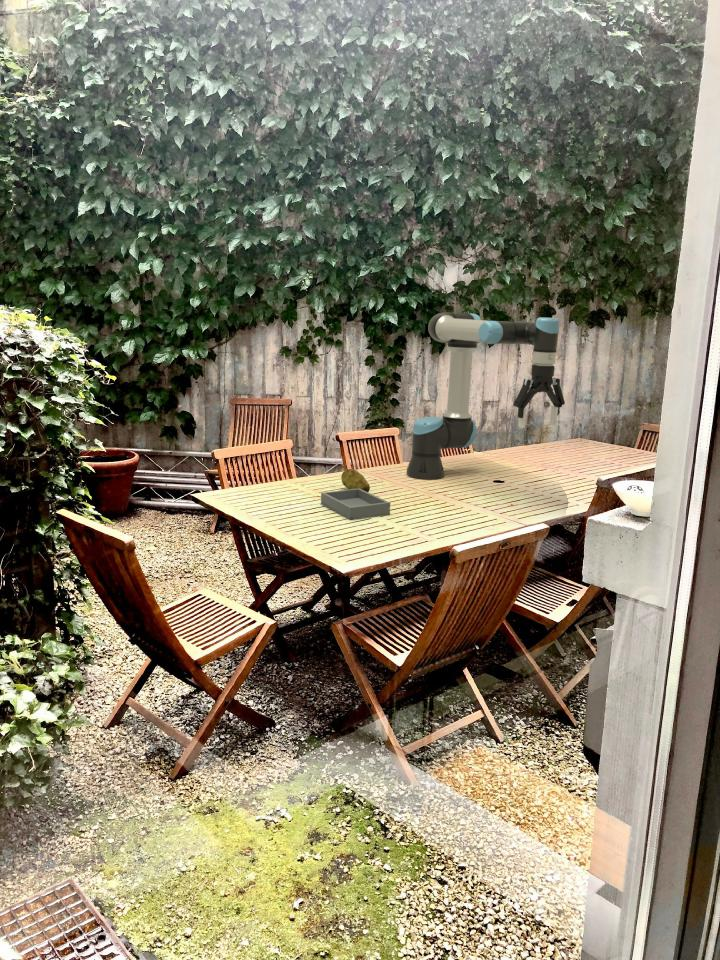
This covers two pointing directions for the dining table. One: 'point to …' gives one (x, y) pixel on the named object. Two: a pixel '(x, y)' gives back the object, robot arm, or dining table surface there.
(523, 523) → the dining table surface
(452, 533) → the dining table surface
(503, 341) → the robot arm
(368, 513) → the tray
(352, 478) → the potato
